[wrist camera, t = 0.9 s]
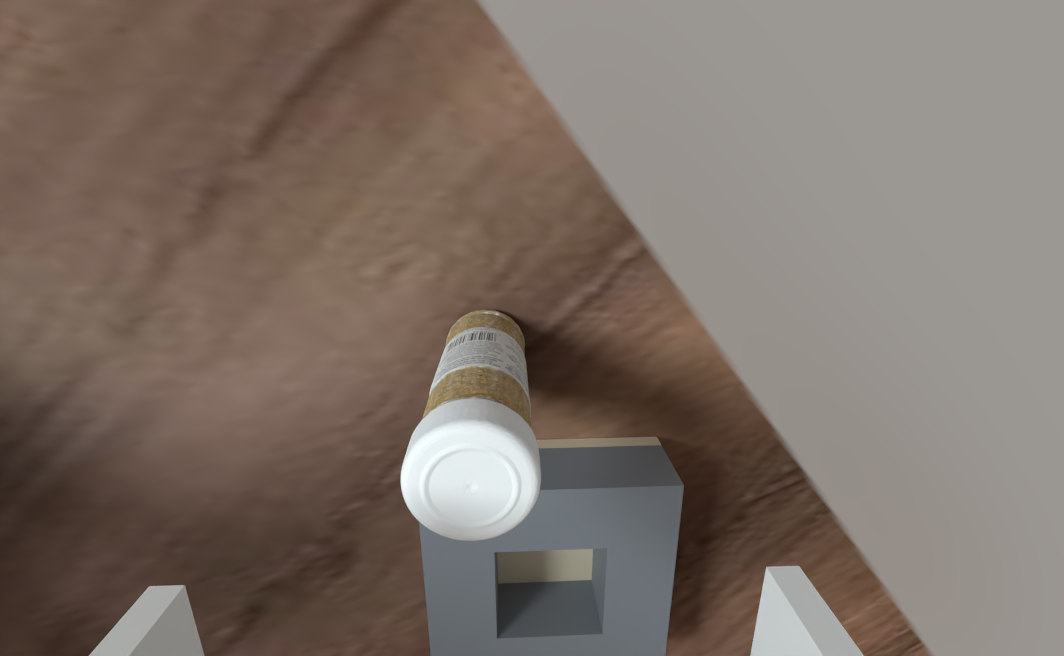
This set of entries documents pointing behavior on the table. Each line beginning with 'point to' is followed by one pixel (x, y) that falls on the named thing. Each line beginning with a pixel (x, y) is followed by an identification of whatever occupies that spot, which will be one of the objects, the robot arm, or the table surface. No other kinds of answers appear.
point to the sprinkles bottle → (475, 435)
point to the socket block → (566, 561)
